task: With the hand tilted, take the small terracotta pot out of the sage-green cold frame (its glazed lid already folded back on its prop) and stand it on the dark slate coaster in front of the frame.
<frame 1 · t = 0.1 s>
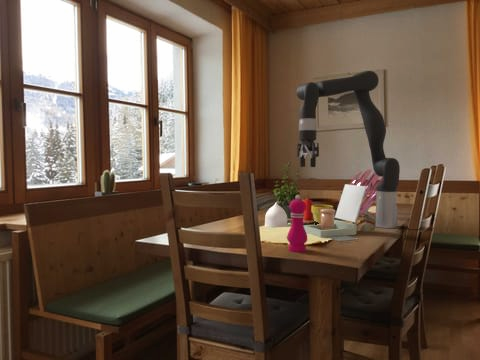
hand: (307, 166, 185), 29 cm above the table, tool pointing down, fingers open, 8 cm apart
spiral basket: (367, 216, 240), on the table
slate coaster: (342, 240, 171), on the table
pepper mill: (297, 250, 153), on the table
teardrop: (276, 226, 205), on the table
cold frame: (328, 234, 183), on the table
terracotta pot: (327, 232, 184), point 1 cm above the table, touching cold frame
chocolate bunny: (367, 232, 190), on the table
plant pot: (321, 226, 207), on the table
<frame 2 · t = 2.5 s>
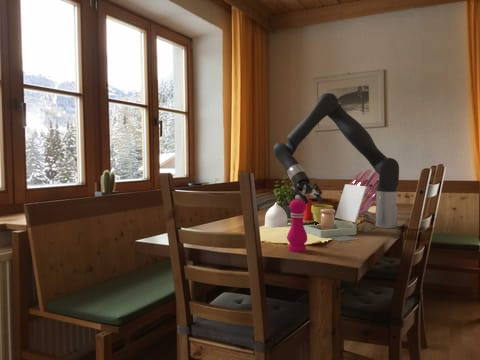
hand: (314, 202, 190), 13 cm above the table, tool tilted 45°, fingers open, 8 cm apart
nothing on the table moved.
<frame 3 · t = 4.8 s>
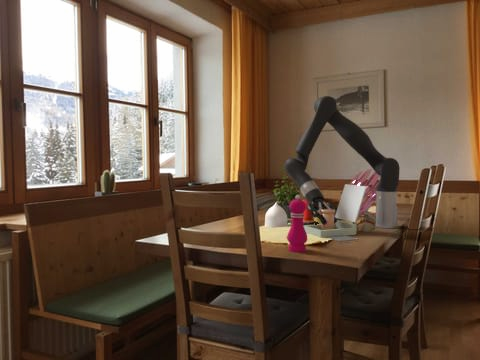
hand: (330, 223, 182), 5 cm above the table, tool tilted 45°, fingers closed on terracotta pot, 5 cm apart
terracotta pot: (327, 232, 184), point 1 cm above the table, touching cold frame, gripper
everything else where it was.
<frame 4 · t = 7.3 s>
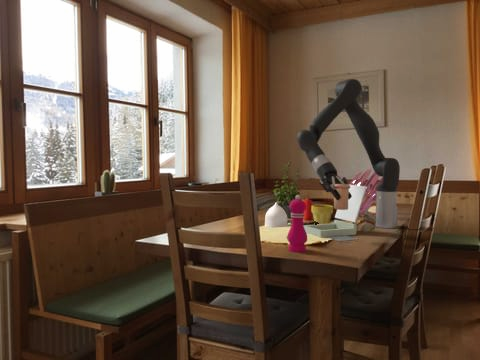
hand: (344, 198, 169), 17 cm above the table, tool tilted 45°, fingers closed on terracotta pot, 5 cm apart
terracotta pot: (341, 208, 171), point 13 cm above the table, touching gripper
everything else where it was.
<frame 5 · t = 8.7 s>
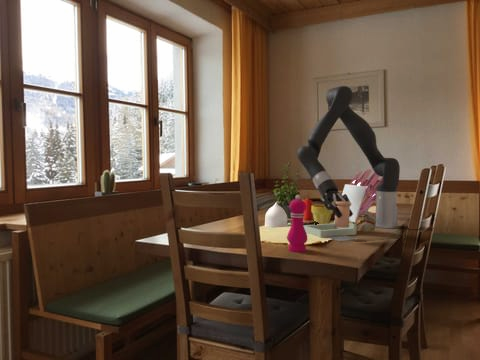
hand: (345, 216, 169), 10 cm above the table, tool tilted 45°, fingers closed on terracotta pot, 5 cm apart
terracotta pot: (342, 226, 171), point 6 cm above the table, touching gripper
everything else where it was.
when the fingers open (7 cm above the table, at t = 9.8 s): terracotta pot drops 1 cm, resting on slate coaster.
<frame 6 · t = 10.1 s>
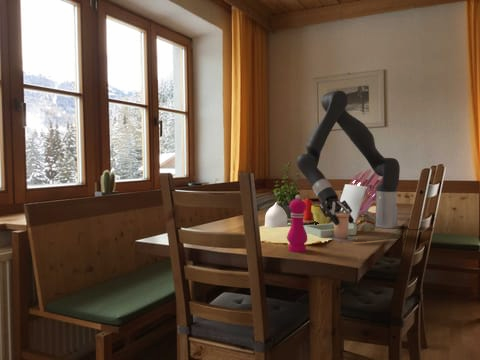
hand: (345, 223, 170), 7 cm above the table, tool tilted 45°, fingers open, 8 cm apart
terracotta pot: (340, 237, 171), point 1 cm above the table, touching slate coaster
everything else where it was.
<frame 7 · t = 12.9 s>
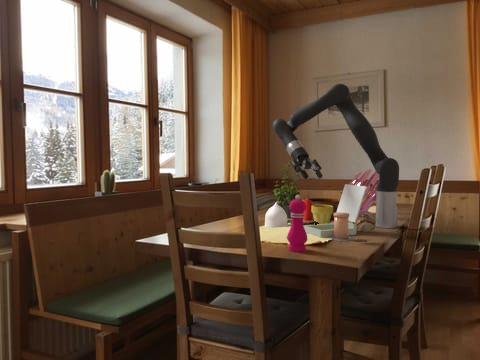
hand: (314, 177, 189), 24 cm above the table, tool tilted 45°, fingers open, 8 cm apart
nothing on the table moved.
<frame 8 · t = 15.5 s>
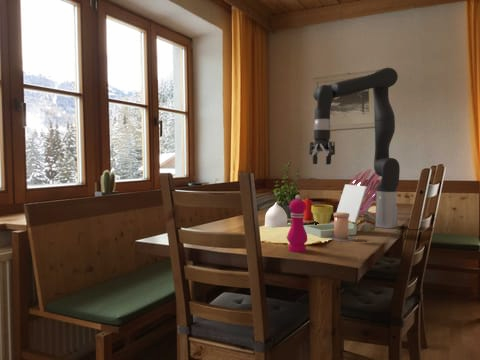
hand: (321, 164, 197), 30 cm above the table, tool pointing down, fingers open, 8 cm apart
nothing on the table moved.
at the end: terracotta pot inside the target area on the slate coaster (0.5 cm from its centre), point 1.0 cm above the slate coaster's base; terracotta pot tilted 0°; the gripper is holding nothing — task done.
